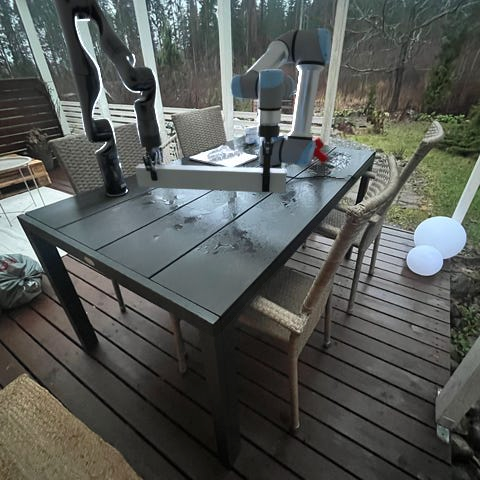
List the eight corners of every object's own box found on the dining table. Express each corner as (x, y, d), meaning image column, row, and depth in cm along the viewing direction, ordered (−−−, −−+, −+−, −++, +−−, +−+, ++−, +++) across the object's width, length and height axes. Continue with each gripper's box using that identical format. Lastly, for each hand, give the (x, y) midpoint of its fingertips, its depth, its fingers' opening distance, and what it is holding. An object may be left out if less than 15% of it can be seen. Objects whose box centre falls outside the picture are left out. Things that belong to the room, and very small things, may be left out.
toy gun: (331, 157, 168) (319, 136, 164) (331, 159, 164) (318, 137, 160) (306, 172, 178) (294, 153, 174) (305, 174, 174) (292, 154, 170)
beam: (284, 188, 105) (286, 168, 101) (284, 193, 101) (286, 173, 97) (143, 182, 111) (139, 163, 107) (138, 187, 107) (134, 167, 103)
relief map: (231, 168, 161) (231, 160, 158) (189, 159, 179) (189, 151, 176) (257, 158, 179) (257, 150, 176) (217, 150, 197) (216, 142, 194)
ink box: (252, 141, 220) (252, 125, 213) (257, 142, 217) (257, 126, 210) (245, 142, 215) (245, 127, 208) (249, 144, 212) (249, 127, 205)
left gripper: (147, 128, 103) (155, 171, 113) (130, 136, 91) (140, 184, 101) (166, 128, 103) (172, 172, 112) (151, 137, 91) (160, 185, 100)
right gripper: (259, 118, 99) (257, 179, 112) (255, 129, 84) (254, 198, 97) (279, 118, 98) (275, 180, 111) (280, 129, 83) (275, 198, 96)
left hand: (157, 177), depth 106 cm, fingers closed on beam, 5 cm apart
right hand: (265, 188), depth 104 cm, fingers closed on beam, 5 cm apart
